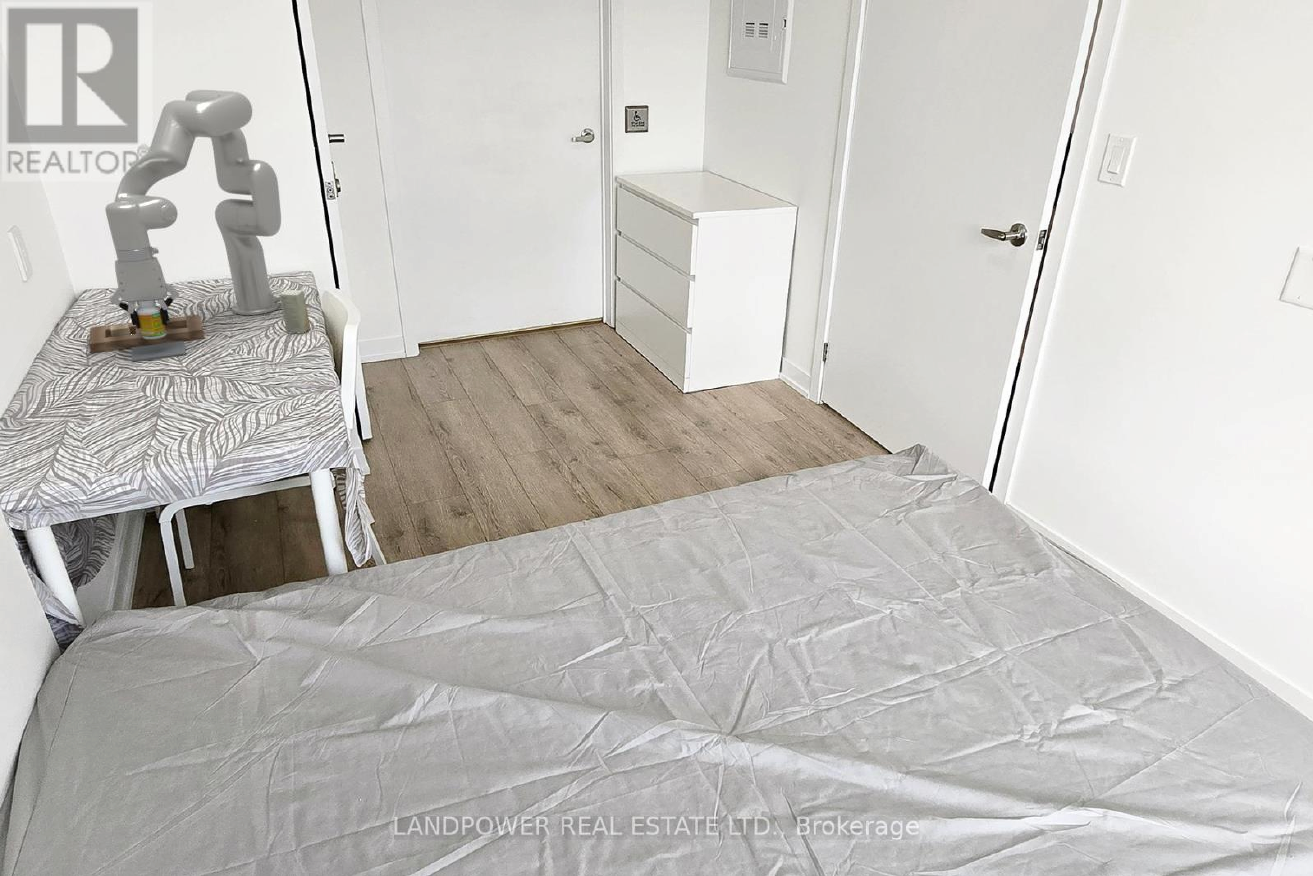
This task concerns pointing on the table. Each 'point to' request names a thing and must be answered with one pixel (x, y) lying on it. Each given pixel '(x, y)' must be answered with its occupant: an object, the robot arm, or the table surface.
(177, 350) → the rubber mat
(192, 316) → the puzzle board
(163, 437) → the table surface
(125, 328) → the maple block
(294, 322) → the box
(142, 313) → the supplement bottle
